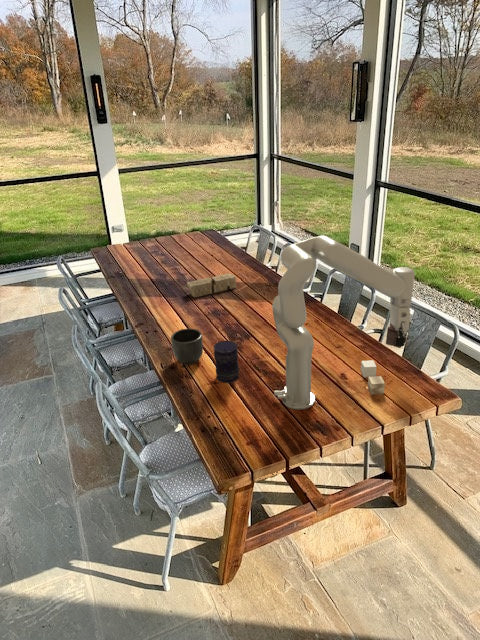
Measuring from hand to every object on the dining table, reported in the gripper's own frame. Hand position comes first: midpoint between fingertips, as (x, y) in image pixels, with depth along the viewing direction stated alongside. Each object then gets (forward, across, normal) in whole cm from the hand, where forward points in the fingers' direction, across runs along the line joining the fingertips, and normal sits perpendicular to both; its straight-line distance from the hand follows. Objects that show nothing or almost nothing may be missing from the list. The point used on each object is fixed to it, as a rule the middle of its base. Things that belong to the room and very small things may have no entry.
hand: (396, 340), depth 182 cm
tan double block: (+19, +103, +79) cm, 131 cm away
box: (+2, 0, 0) cm, 2 cm away
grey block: (+18, +4, +9) cm, 20 cm away
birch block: (+18, -8, +9) cm, 22 cm away
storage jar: (+18, +7, +68) cm, 71 cm away
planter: (+19, +22, +86) cm, 90 cm away
